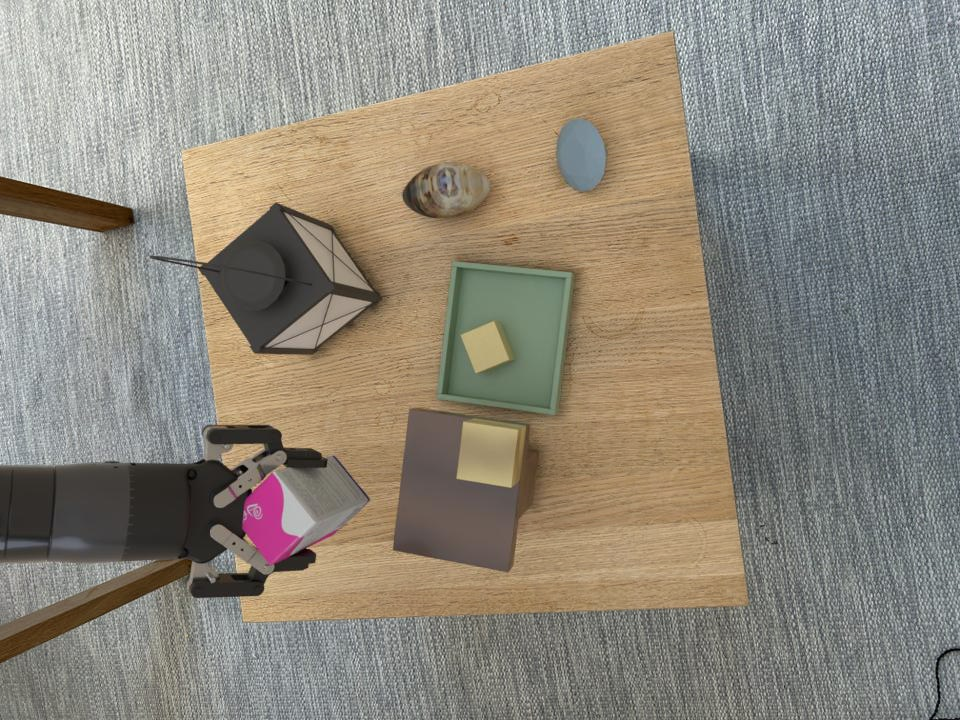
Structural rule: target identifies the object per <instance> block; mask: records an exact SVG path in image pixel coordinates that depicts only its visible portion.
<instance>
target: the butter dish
mask: <svg viewBox="0 0 960 720" xmlns="http://www.w3.org/2000/svg"><path fill="white" fill-rule="evenodd" d="M575 280H576V275H575V274H574V273H573V272H572V271H563V270H562V271H561V270H552V269H551V270H550V269H540V268H531V267H530V268H529V267H519V266H510V265H509V266H508V265H498V264H489V263H478V262H476V263H475V262H468V261H467V262H466V261H456V260H452V261H451V270H450V279H449V286H448V296H447V303H446V313H445V321H444V329H443V337H442V346H441V355H440V361H439V371H438V378H437V379H438V381H437V387H436V388H437V389H436V396H435V398H436V400H442V401H449V402H450V401H451V402H456V403H457V402H458V403H465V404H471V405H472V404H473V405H479V406H487V407H491V408H498V409H499V408H501V409H507V410H514V411H521V412H528V413H534V414H535V413H536V414H543V415H550V416H555V415H558V414H559V410H560V403H561V395H562V388H563V387H562V386H563V379H564V370H565V362H566V355H567V354H566V353H567V345H568V339H569V338H568V337H569V329H570V321H571V314H572V313H571V312H572V305H573V296H574V289H575V282H576V281H575ZM492 321H496V322H501V325H502V327H503V330H504V332H505V335H506V337H507V340H508V342H509V345H510V347H511V350H512V352H513V355H514V357H515V360H514V361H511V362H509V363H507V364H504V365H502V366H499V367H497V368H494V369H492V370H490V371H487V372H485V373H477V374H476V373H475V371H474V368H473V366H472V363H471V361H470V358H469V356H468V353H467V350H466V348H465V345H464V343H463V340H462V338H461V335H462V334H464V333H466V332H469V331H471V330H473V329H476V328H478V327H480V326H483V325H485V324H487V323H490V322H492Z"/></svg>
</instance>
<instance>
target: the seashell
mask: <svg viewBox="0 0 960 720" xmlns="http://www.w3.org/2000/svg"><path fill="white" fill-rule="evenodd" d="M490 191H491V182H490V180H489V178H488V177H487V176H486V175H485V173H483V172H482V171H481V170H479V169H478V168H475V167H473V166H471V165H469V164H464V163H459V162H440V163H436V164H433V165H430V166H427V167H426V168H424V169H421V171H419V172H418V173H416V174H415V175H413V177H412V178H411V179H410V180H409V181H408V182H407V184H406V185H405V187H404V188H403V190H402V194H401V195H402V196H401V198H402V200H403V203H404V204H405V205H406V206H407V207H408V208H409V209H411V210H412V211H413V212H415V213H416V214H418V215H420V216H423V217H427V218H431V219H452V218H456V217H459V216H463V215H465V214H468V213H470V212H471V211H473V210H475V209H476V208H478V207H479V206H480V205H481V204H482V203H483V202H484V201H485V200H486V199H487V197H488V195H489V193H490Z"/></svg>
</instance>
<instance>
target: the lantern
mask: <svg viewBox="0 0 960 720" xmlns="http://www.w3.org/2000/svg"><path fill="white" fill-rule="evenodd" d="M335 231H336V230H335V229H334V227H333V226H332V224H329V223H327V222H325V221H323V220H320V219H318V218H315V217H312V216H311V215H308V214H305V213H303V212H300V211H298V210H296V209H293V208H291V207H288V206H286V205H284V204H282V203H279V202H274V203H273V204H272V205H271V206H269V210H267V211H266V212H264V214H262V215H261V216H260V217H259V218H258V219H256V220H255V221H254V222H253V223H252V224H251V225H250V226H248V227H247V228H246V229H245V230H244V231H243V232H241V233H240V234H239V235H238V236H237V237H235V238H234V240H232V241H231V242H230V243H229V244H227V245H226V246H225V247H224V248H222V249H221V250H220V251H219V252H218V253H217V254H215V255H214V256H213V257H212V258H211V259H210V260H208V262H203V261H197V260H190V259H186V258H185V259H184V258H183V259H182V258H178V257H169V256H162V255H149V259H152V260H156V261H160V262H165V263H170V264H174V265H179V266H184V267H190V268H195V269H198V271H199V273H200V274H201V275H202V276H203V277H205V279H206V280H207V282H208V283H209V285H210V286H211V288H212V289H213V291H214V292H215V293H216V295H217V297H218V298H219V300H220V301H221V303H222V305H223V306H224V307H225V309H226V310H227V312H228V313H229V315H230V316H231V318H232V320H233V321H234V322H235V324H236V325H237V327H238V328H239V330H240V331H241V333H242V334H243V336H244V337H245V339H246V340H247V342H248V344H249V345H250V346H249V348H250V350H251V351H252V353H253V354H255V355H295V356H296V355H297V356H299V355H300V356H301V355H302V356H312V355H314V354H315V353H317V352H318V351H319V350H318V349H319V348H321V347H322V346H323V345H324V344H325V343H327V342H328V341H329V340H331V339H332V338H333V337H335V335H337V334H338V333H339V332H340V331H342V330H343V329H345V328H346V327H347V326H348V325H349V324H351V323H352V322H353V321H354V320H356V319H357V318H358V317H359V316H361V315H362V314H363V313H364V312H366V311H367V310H368V309H370V308H371V307H372V306H373V305H374V304H378V303H380V302H381V301H382V300H383V296H381V294H380V293H379V292H377V290H375V288H374V286H373V285H372V283H371V282H370V281H369V280H368V278H367V276H365V274H364V273H363V270H361V268H360V267H359V265H358V264H357V262H356V261H355V260H354V258H353V256H352V255H351V253H350V252H349V251H348V250H347V249H346V247H345V246H344V244H343V242H342V241H341V240H340V239H339V236H338V235H337V234H336V233H335ZM194 264H196V265H194ZM199 265H200V266H199Z"/></svg>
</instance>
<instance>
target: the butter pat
mask: <svg viewBox="0 0 960 720" xmlns="http://www.w3.org/2000/svg"><path fill="white" fill-rule="evenodd" d="M461 338H462V340H463V343H464V345H465V348H466V350H467V353H468V356H469V358H470V361H471V363H472V366H473V368H474V371H475V373H476V374H477V373H485V372H487V371H490V370H492V369H494V368H497V367H499V366H502V365H504V364H507V363H509V362H511V361H514V360H515V357H514V355H513V352H512V350H511V347H510V345H509V342H508V340H507V337H506V335H505V332H504V330H503V327H502V325H501V322H496V321H492V322H490V323H487V324H485V325H483V326H480V327H478V328H476V329H473V330H471V331H469V332H466V333H464V334H462V335H461Z"/></svg>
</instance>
